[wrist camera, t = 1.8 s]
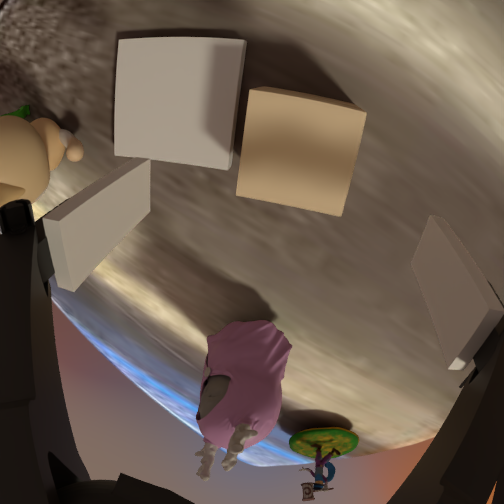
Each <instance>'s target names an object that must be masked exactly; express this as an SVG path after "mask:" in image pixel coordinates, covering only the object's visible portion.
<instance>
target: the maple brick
mask: <svg viewBox="0 0 504 504" xmlns="http://www.w3.org/2000/svg"><path fill="white" fill-rule="evenodd" d="M366 115H367V113H366V112H365V111H364V110H362V109H361V108H359V107H358V106H356V105H355V104H352V103H348V102H344V101H340V100H336V99H331V98H327V97H322V96H317V95H313V94H308V93H302V92H297V91H291V90H286V89H280V88H273V87H267V86H262V87H258V88H254V89H250V90H249V98H248V105H247V113H246V120H245V128H244V135H243V143H242V151H241V159H240V167H239V175H238V183H237V191H236V195H237V196H242V197H248V198H253V199H258V200H263V201H268V202H273V203H278V204H283V205H288V206H293V207H298V208H303V209H307V210H312V211H317V212H321V213H326V214H330V215H335V216H339V217H341V215H342V211H343V208H344V204H345V200H346V197H347V193H348V189H349V185H350V182H351V178H352V174H353V170H354V166H355V162H356V158H357V154H358V150H359V145H360V141H361V137H362V133H363V128H364V124H365V119H366Z"/></svg>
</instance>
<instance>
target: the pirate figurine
mask: <svg viewBox="0 0 504 504" xmlns="http://www.w3.org/2000/svg"><path fill="white" fill-rule="evenodd" d="M358 442H359V437H358V435H357V434H356V433H354V432H352V431H350V430H347V429H344V428H339V427H329V428H311V429H307V430H303V431H300V432H298V433H295V434H294V435H293V436H292V437H291V438H290V440H289V445H290V448H291V449H292V450H293V451H294V452H297V453H299V454H302V455H304V456H308V457H311V458H315V461H316V469H315V470H316V471H315V473H313V471H312V470H310V469H309V468H306V469H304V468H303V467H302V468H303V469H301V470H299V471H302V470H307V471H309V472H310V473H311V474H312V476H313V477H315V483H303V484H301V486H302V489H303V499H302V501H310V500H314V499H315V498H314V495H313V492H319V491H328V490H332V489H333V488H330V489H328V487H327V484H328V482H329V481H331V480H332V479H333V477H334V474H335V467H334V466H333V464H332V463H330V462H328V461H329V460H330V459H331V458H335V457H339V456H342V455H344V454H346V453H349V452H351V451H352V450H353V449H355V448H356V446H357V445H358ZM321 459H322V460H321ZM324 464H325V467H327V468H328V477H327V478H326V477H325V476H324V475H323V466H324ZM323 483H325V485H324V484H323ZM313 484H314V486H313ZM323 486H324V488H323Z"/></svg>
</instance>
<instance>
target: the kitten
mask: <svg viewBox="0 0 504 504" xmlns="http://www.w3.org/2000/svg"><path fill="white" fill-rule="evenodd" d="M27 114H30V112H29V105H25V106H21V107H20V109H19V110H17V111H15V112H12V113H8V114H4V115H1V116H0V207H1V206H3V205H4V204H6V203H8V202H10V201H14V200H18V199H28V200H30V201H31V204H32V203H34V202H35V201H37V200H38V199H39V198H40V197H41V196H42V195H43V194H44V192H45V191H46V189H47V187H48V184H49V180H50V171H52V170H54V169H55V168H56V167H57V166H58V165H59V163H60V162H61V159H62V157H63V155H64V152H65V147H66V148H67V149H66V156H67V158H68V159H69V160H71V161H74V162H76V161H79V160H81V158H82V157H83V154H84V149H83V145H82V143H81V142H80V141H79V140H78V139H76V137H75V136H74V135H73V134H72V133H71V132H69V131H68V130H65V129H60V127H59V126H58V125H57V124H56V123H55V122H54V121H52V120H51V119H48V118H39V119H36V120H34V121H32V122H31V123H29V122H28V121H26V120H24V119H23V118H25V117H26V116H27Z"/></svg>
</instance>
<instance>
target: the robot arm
mask: <svg viewBox="0 0 504 504" xmlns="http://www.w3.org/2000/svg"><path fill="white" fill-rule="evenodd" d="M149 212H150V159H149V158H141V157H135V158H134V159H132V160H130V161H128V162H127V163H125V164H123V165H122V166H120V167H118V168H117V169H115V170H113V171H112V172H110V173H108V174H107V175H105V176H103V177H102V178H100V179H99V180H97V181H96V182H94V183H92V184H91V185H89V186H88V187H86V188H85V189H83V190H82V191H80V192H79V193H77V194H76V195H74V196H73V197H71V198H69V199H67V200H65V201H64V202H62V203H61V204H59V206H56V207H55V208H54V209H53V210H51V211H49V212H48V213H47V214H45V215H44V216H42V217H41V218H40V219H38V220H37V221H36V222H35V221H34V216H33V210H32V205H31V201H30V200H28V199H18V200H14V201H10V202H8V203H6V204H4V205H3V206H1V207H0V226H1V230H2V234H0V504H194V503H193V502H191V501H189V500H187V499H185V498H183V497H181V496H179V495H178V494H176V493H174V492H172V491H170V490H168V489H165V488H161V487H158V486H155V485H152V484H150V483H147V482H144V481H141V480H138V479H135V478H133V477H130V476H128V475H125V474H122V473H120V476H119V478H118V480H117V481H114V480H91V479H90V477H89V474H88V472H87V470H86V467H85V466H84V464H83V462H82V460H81V458H80V456H79V454H78V451H77V448H76V444H75V441H74V437H73V433H72V430H71V425H70V421H69V417H68V413H67V409H66V404H65V399H64V394H63V389H62V383H61V377H60V372H59V365H58V359H57V351H56V344H55V336H54V326H53V315H52V301H51V287H50V283H49V280H48V279H49V278H50V277H51V276H52V275H53V274H54V273H55V277H56V281H57V284H58V287H61V288H64V289H67V290H69V291H72V292H74V291H75V290H76V289H77V288H78V287H79V286H80V285H81V283H82V282H83V281H84V280H85V279H86V278H87V277H88V276H89V274H90V273H91V272H92V271H93V270H94V269H95V268H96V267H97V266H98V265H99V264H100V262H101V261H102V260H103V259H104V258H105V257H106V256H107V255H108V254H109V253H110V252H111V251H112V250H113V249H114V248H115V247H116V245H117V244H118V243H119V242H120V241H121V240H122V239H123V238H124V237H125V236H126V235H127V234H128V233H129V232H130V231H131V230H132V229H133V228H134V227H135V226H136V225H137V224H138V223H139V222H140V221H141V220H142V219H143V218H144V217H145V216H146V215H147V214H148V213H149ZM410 265H411V267H412V269H413V272H414V274H415V277H416V279H417V282H418V284H419V287H420V289H421V292H422V294H423V297H424V300H425V302H426V305H427V308H428V310H429V313H430V316H431V319H432V322H433V324H434V327H435V330H436V333H437V336H438V339H439V342H440V346H441V349H442V352H443V355H444V358H445V362H446V365H447V368H448V369H454V370H464V369H465V368H466V367H467V365H468V364H469V363H470V361H471V360H472V359H474V362H475V365H476V367H475V368H474V369H473V371H472V372H471V373H470V374H469V375H468V377H467V378H466V379H465V380H464V381H463V383H462V384H461V385H460V386H459V387H460V388H462V387H463V386H464V387H463V389H462V391H461V393H460V395H459V397H458V398H457V400H456V402H455V404H454V406H453V408H452V409H451V411H450V413H449V415H448V416H447V418H446V420H445V422H444V423H443V425H442V427H441V428H440V430H439V432H438V433H437V435H436V436H435V438H434V440H433V441H432V443H431V444H430V446H429V447H428V449H427V450H426V452H425V453H424V455H423V456H422V458H421V459H420V461H419V462H418V463H417V465H416V466H415V468H414V469H413V470H412V472H411V473H410V475H409V476H408V477H407V478H406V480H405V481H404V482H403V484H402V485H401V486H400V488H399V489H398V490H397V491H396V493H395V494H394V495H393V496H392V498H391V499H390V500H389V501H388V502H387V504H486V503H487V501H488V499H489V496H490V494H491V492H492V490H493V488H494V485H495V483H496V481H497V483H496V487H495V492H494V496H493V500H492V504H504V305H503V304H502V302H501V300H499V299H500V298H499V297H498V295H497V294H496V293H495V290H494V289H493V287H492V285H491V284H490V283H489V282H488V281H487V280H486V278H485V277H484V275H483V274H482V272H481V271H480V269H479V268H478V266H477V264H476V263H475V261H474V260H473V258H472V257H471V256H470V254H469V253H468V251H467V250H466V248H465V247H464V245H463V244H462V243H461V241H460V240H459V238H458V237H457V236H456V234H455V233H454V232H453V230H452V229H451V228H450V226H449V225H448V224H447V222H446V221H445V220H444V218H441V217H438V216H434V215H431V214H430V216H429V219H428V221H427V224H426V227H425V229H424V232H423V234H422V237H421V239H420V242H419V244H418V247H417V249H416V252H415V254H414V256H413V259H412V261H411V263H410Z"/></svg>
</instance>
